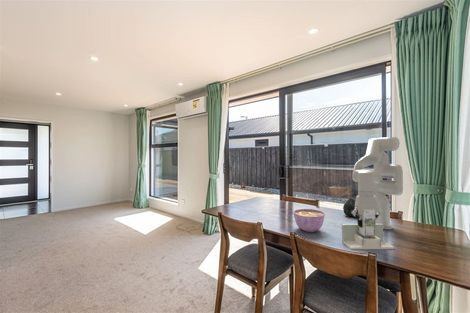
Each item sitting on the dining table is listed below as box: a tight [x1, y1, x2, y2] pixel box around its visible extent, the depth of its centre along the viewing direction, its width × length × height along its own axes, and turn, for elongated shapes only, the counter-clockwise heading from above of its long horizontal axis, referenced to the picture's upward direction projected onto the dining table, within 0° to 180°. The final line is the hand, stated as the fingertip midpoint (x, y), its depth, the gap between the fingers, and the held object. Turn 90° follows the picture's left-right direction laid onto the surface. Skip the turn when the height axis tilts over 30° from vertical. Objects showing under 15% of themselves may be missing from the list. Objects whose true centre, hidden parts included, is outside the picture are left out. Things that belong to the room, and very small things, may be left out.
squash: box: [342, 197, 358, 218], centre depth 177 cm, size 14×15×15 cm
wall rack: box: [341, 223, 395, 250], centre depth 122 cm, size 11×22×10 cm, turn 88°
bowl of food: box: [292, 208, 326, 233], centre depth 148 cm, size 20×20×12 cm
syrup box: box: [359, 209, 375, 236], centre depth 122 cm, size 6×6×14 cm
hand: (366, 226), depth 122 cm, fingers closed on syrup box, 5 cm apart
